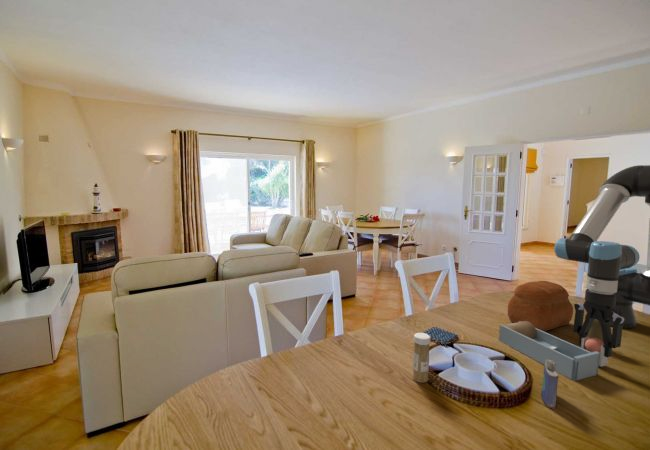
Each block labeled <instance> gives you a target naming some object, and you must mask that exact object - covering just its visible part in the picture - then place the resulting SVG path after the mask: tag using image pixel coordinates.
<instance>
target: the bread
mask: <svg viewBox="0 0 650 450" xmlns="http://www.w3.org/2000/svg"><path fill="white" fill-rule="evenodd" d="M569 297H570V295H569V292H568V290H567V289H566V288H564V287H563V286H562V285H561V284H558V283H556V282H552V281H547V280H538V281H537V280H536V281H529V282H525V283H523V284H520V285H517V286H516V288H515V289H514V294H513V296H512V297H511V298H510V300H509V301H508V303H507V317H508V319H509V321H510V322H512V323H517V322H519V321H521V322H523V321H528V322H530V323H531V324H533V326H534V327H535V328H537V329H539V330H541V331H544V332H548V331H551V330H554V329H557V328H559V327H564V326H566V325H568V324H569V323H570V322H571V321H572V318H573V315H574V307H573V306H574V305H572V302H570V299H569Z"/></svg>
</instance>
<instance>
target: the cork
mask: <svg viewBox="0 0 650 450" xmlns="http://www.w3.org/2000/svg"><path fill="white" fill-rule="evenodd" d="M588 335H589V336H586V337H589V338H597V339H599V340H601V341H602V342H603V336H602V330H601V325H600V324H599V321H598V320H597V319H595V320H594V322H593V324H592V326H591V328H590V331H589V333H588ZM603 343H604V342H603Z"/></svg>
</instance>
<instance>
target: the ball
mask: <svg viewBox="0 0 650 450" xmlns="http://www.w3.org/2000/svg"><path fill="white" fill-rule="evenodd" d="M602 345H604V343H603V342H602V341H601V340H599V339H597V338H589V339H587V340H586V342H585V347H586V349H587V350H588V351H589V352H596V351H597V352H599V353H600V350H601V346H602Z"/></svg>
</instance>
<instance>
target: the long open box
mask: <svg viewBox="0 0 650 450" xmlns="http://www.w3.org/2000/svg"><path fill="white" fill-rule="evenodd" d="M498 341H499V342H501V343H503V344H505V345H506V346H508V347H511V348H512V349H514V350H515V351H517V352H520V353H521V354H523V355H525V356H527V357H529V358H531V359H532V360H534V361H537V363H540V364H542V365H544V364H545V361H546V360H547V359H548V360H551V361H554V362H555V363H556V365H555V370H556V372H557V373H558V374H561V375H563V376H564V377H567V378H568V379H570V380H572V381H574V382H576V381H580V380H583V379H586V378H591V377H594V376H598V374H599V367H600V366H599V358H600V353H599V352H597V351H596V352H589V351H587V350H585V349H583V348H581V346H579V345H576V344H573V343H571V342H570V341H567V340H564V339H562V338H559V337H558V336H555V335H553V334H550V333H548V332H547V331H541V330H539V329H537V328H535V327H534V326H533V324H531V323H530V322H528V321H523V322H521V321H519V322H517V323H514V322H512V323H506V324H505V325H503V324H500V325H499V332H498Z"/></svg>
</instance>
